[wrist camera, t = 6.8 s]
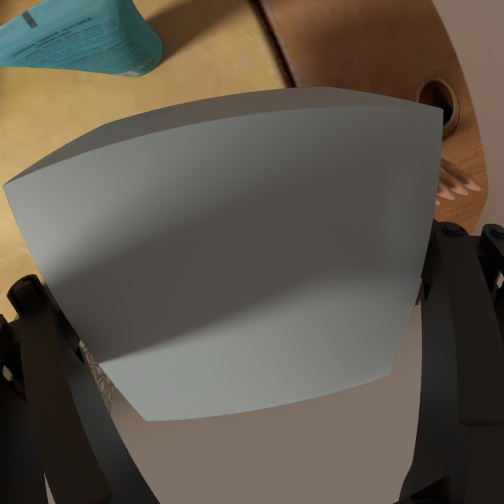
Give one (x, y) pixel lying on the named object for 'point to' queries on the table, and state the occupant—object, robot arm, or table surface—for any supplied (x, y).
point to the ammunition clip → (453, 181)
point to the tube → (81, 38)
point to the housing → (238, 244)
